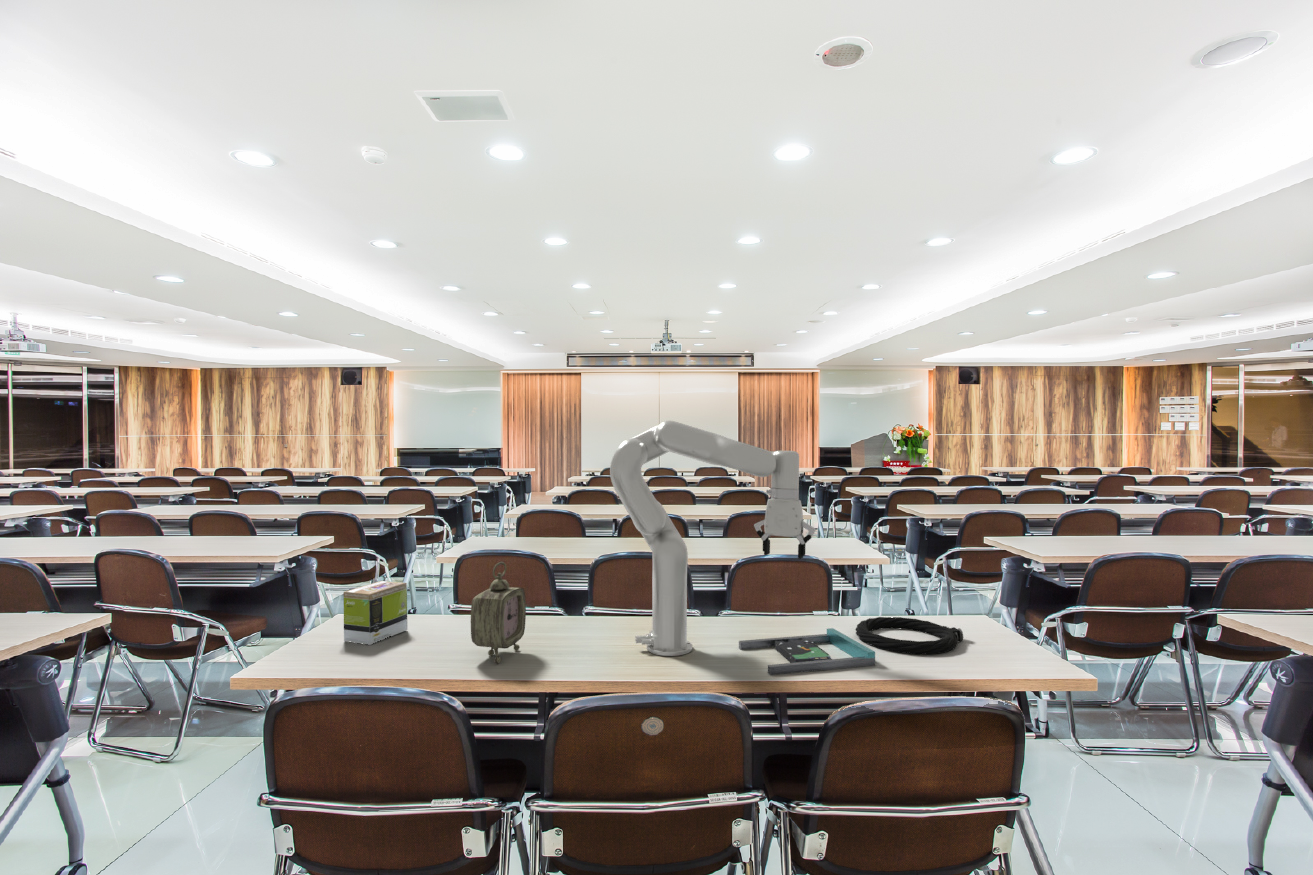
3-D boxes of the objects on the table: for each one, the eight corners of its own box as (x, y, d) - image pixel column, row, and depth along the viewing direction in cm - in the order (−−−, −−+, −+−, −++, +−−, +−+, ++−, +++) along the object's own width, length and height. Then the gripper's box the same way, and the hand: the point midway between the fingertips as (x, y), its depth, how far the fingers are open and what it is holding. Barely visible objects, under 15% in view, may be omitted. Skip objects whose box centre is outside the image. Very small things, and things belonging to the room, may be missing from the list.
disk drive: (773, 651, 171) (795, 669, 156) (773, 641, 171) (795, 658, 156) (809, 648, 173) (833, 667, 158) (808, 638, 173) (833, 655, 158)
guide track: (770, 675, 151) (770, 660, 151) (738, 647, 171) (738, 635, 172) (875, 665, 158) (875, 651, 158) (832, 640, 178) (832, 628, 178)
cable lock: (843, 614, 193) (940, 615, 193) (843, 627, 193) (940, 627, 193) (873, 642, 166) (985, 643, 165) (873, 657, 166) (985, 657, 165)
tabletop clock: (500, 667, 156) (500, 568, 157) (468, 664, 158) (468, 566, 159) (525, 649, 170) (526, 558, 171) (495, 646, 172) (496, 556, 173)
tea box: (382, 627, 190) (382, 579, 190) (408, 631, 187) (408, 582, 187) (342, 642, 176) (342, 590, 176) (369, 646, 172) (370, 593, 173)
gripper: (750, 493, 173) (749, 555, 173) (812, 497, 165) (811, 561, 164) (759, 492, 179) (758, 551, 179) (819, 495, 171) (818, 557, 171)
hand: (783, 556), depth 172 cm, fingers open, 9 cm apart
